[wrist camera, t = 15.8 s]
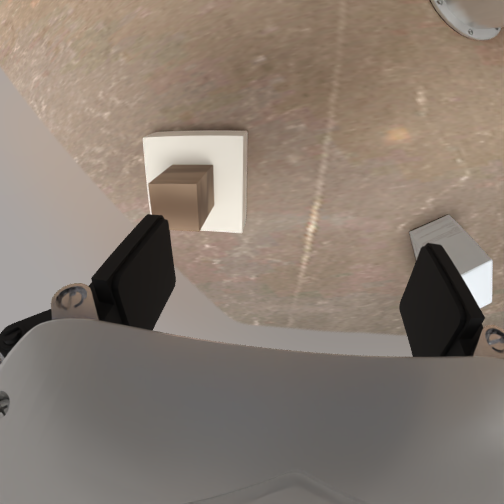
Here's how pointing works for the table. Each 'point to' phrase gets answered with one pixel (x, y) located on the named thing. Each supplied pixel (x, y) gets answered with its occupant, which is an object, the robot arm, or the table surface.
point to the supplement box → (459, 254)
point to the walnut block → (183, 196)
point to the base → (206, 153)
